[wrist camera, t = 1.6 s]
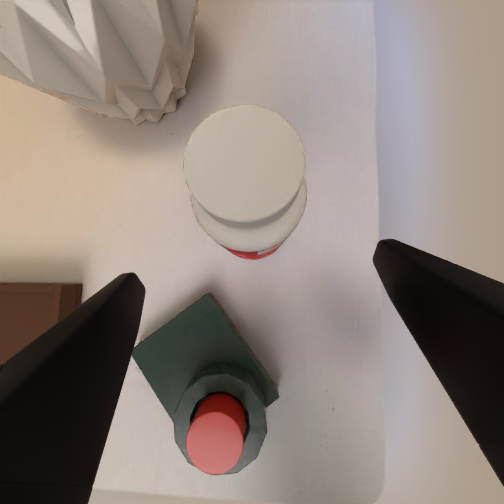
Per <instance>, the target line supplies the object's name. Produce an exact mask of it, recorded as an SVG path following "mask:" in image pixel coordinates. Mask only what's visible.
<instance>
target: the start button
mask: <svg viewBox="0 0 504 504" xmlns="http://www.w3.org/2000/svg"><path fill="white" fill-rule="evenodd" d="M245 421H246V420H245V413H244V410H243V407H242V406H241V404H240V403H239V401H238V400H237V399H236V398H234V397H233V396H231V395H229V394H226V393H216V394H212V395H210V396H208V397H207V398H206V399H204V400H203V401H202V403H201V404H200V406H199V408H198V410H197V412H196V414H195V416H194V419H193V421H192V423H191V425H190V427H189V430H188V433H187V437H186V448H187V453H188V456H189V458H190V460H191V461H192V463H193V464H194V465H195V466H196V467H197V468H198V469H199V470H201V471H202V472H205V473H207V474H213V475H217V474H222V473H225V472H227V471H229V470H230V469H232V468H233V467H234V466H235V465H236V464H237V462H238V461H239V459H240V457H241V454H242V451H243V444H244V433H245Z"/></svg>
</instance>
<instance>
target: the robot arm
mask: <svg viewBox="0 0 504 504" xmlns="http://www.w3.org/2000/svg"><path fill="white" fill-rule="evenodd" d="M373 263H374V266H375V268H376V270H377V272H378V274H379V277H380V279H381V281H382V283H383V285H384V287H385V289H386V292H387V294H388V296H389V298H390V300H391V301H392V303H393V305H394V306H395V308H396V310H397V311H398V313H399V315H400V316H401V318H402V320H403V321H404V323H405V325H406V326H407V328H408V329H409V331H410V333H411V334H412V336H413V338H414V339H415V341H416V343H417V344H418V346H419V348H420V349H421V351H422V353H423V354H424V356H425V357H426V359H427V361H428V362H429V364H430V366H431V367H432V369H433V371H434V372H435V374H436V376H437V377H438V379H439V380H440V382H441V384H442V386H443V387H444V389H445V390H446V392H447V394H448V395H449V397H450V399H451V400H452V402H453V404H454V405H455V407H456V409H457V410H458V412H459V414H460V415H461V417H462V418H463V420H464V422H465V423H466V425H467V427H468V428H469V430H470V431H471V433H472V435H473V437H474V438H475V440H476V442H477V443H478V444H479V447H480V449H481V450H482V452H483V453H484V455H485V457H486V458H487V460H488V462H489V463H490V465H491V467H492V468H493V470H494V472H495V473H496V475H497V477H498V478H499V480H500V481H501V483H502V484H503V486H504V284H503V283H501V282H499V281H496V280H494V279H491V278H489V277H486V276H484V275H481V274H479V273H476V272H474V271H471V270H469V269H466V268H464V267H462V266H459V265H457V264H454V263H452V262H449V261H447V260H444V259H442V258H439V257H437V256H434V255H432V254H429V253H427V252H424V251H422V250H419V249H417V248H414V247H412V246H409V245H407V244H405V243H402V242H400V241H397V240H394V239H385V240H380V241H379V242H378V244H377V247H376V250H375V253H374V255H373ZM144 298H145V287H144V285H143V284H142V282H141V281H140V279H139V278H138V276H137V275H136V274H135V273H132V272H131V273H124V274H121V275H119V276H118V277H117V278H115V279H114V280H113V281H111V282H110V283H109V284H107V285H106V286H105V287H104V288H102V289H101V290H100V291H98V292H97V293H96V294H94V295H93V296H92V297H90V298H89V299H88V300H86V301H85V302H84V303H82V304H81V305H80V306H78V307H77V308H76V309H74V310H73V311H72V312H70V313H69V314H68V315H66V316H65V317H64V318H62V319H61V320H60V321H58V322H57V323H56V324H55V325H53V326H52V327H51V328H49V329H48V330H47V331H45V332H44V333H43V334H41V335H40V336H39V337H37V338H36V339H35V340H33V341H32V342H31V343H29V344H28V345H27V346H25V347H24V348H23V349H21V350H20V351H19V352H17V353H16V354H15V355H13V356H12V357H11V358H10V359H8V360H7V361H6V362H5V363H3V364H1V365H0V504H88V501H89V498H90V495H91V492H92V488H93V487H92V486H93V484H94V481H95V477H96V474H97V470H98V467H99V464H100V460H101V457H102V453H103V450H104V447H105V443H106V440H107V436H108V433H109V430H110V426H111V423H112V419H113V416H114V413H115V409H116V406H117V402H118V399H119V396H120V392H121V389H122V385H123V382H124V379H125V375H126V372H127V368H128V365H129V362H130V358H131V355H132V351H133V348H134V345H135V341H136V338H137V334H138V330H139V326H140V320H141V315H142V309H143V303H144Z"/></svg>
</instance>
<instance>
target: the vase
mask: <svg viewBox="0 0 504 504" xmlns="http://www.w3.org/2000/svg"><path fill="white" fill-rule="evenodd" d="M198 6H199V0H0V74H1V75H4V76H6V77H9V78H11V79H13V80H16V81H18V82H21V83H23V84H25V85H28V86H30V87H33V88H35V89H37V90H40V91H42V92H45V93H47V94H49V95H52V96H54V97H56V98H58V99H61V100H62V101H64V102H67V103H69V104H72V105H74V106H77V107H79V108H82V109H84V110H87V111H89V112H92V113H95V114H97V115H100V116H102V117H107V116H113V117H116V118H118V119H119V118H124V119H129V120H130V121H132V122H133V123H134V124H135V125H138V124H140V123H141V122H143V121H144V120H150V121H153V122H156V123H158V122H159V120H160V118H161V117H162V115H163V114H164V113H168V112H175V111H176V105H177V100H178V99H179V98H181V97H182V96H184V95H186V89H185V83H186V79H187V76H188V73H189V69H190V66H191V63H192V62H193V56H194V36H195V23H196V16H197V14H198Z"/></svg>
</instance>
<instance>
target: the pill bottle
mask: <svg viewBox="0 0 504 504" xmlns="http://www.w3.org/2000/svg"><path fill="white" fill-rule="evenodd" d="M305 163H306V161H305V152H304V148H303V144H302V142H301V139H300V137H299V135H298V133H297V132H296V130H295V129H294V128H293V127H292V126H291V124H290V123H289V122H288V121H287V120H285V119H284V118H283V117H282V116H280V115H278V114H277V113H275V112H273V111H271V110H268V109H266V108H262V107H259V106H253V105H237V106H232V107H228V108H224V109H222V110H219V111H217V112H215V113H213V114H212V115H210V116H208V117H207V118H206V119H205V120H203V121H202V122H201V123H200V124H199V125H198V126H197V128H196V129H195V130H194V132H193V133H192V135H191V137H190V138H189V141H188V143H187V146H186V149H185V153H184V162H183V168H184V176H185V179H186V183H187V186H188V188H189V190H190V196H191V205H192V208H193V212H194V214H195V217H196V219H197V221H198V223H199V224H200V226H201V227H202V229H203V230H204V231H205V232H206V233H207V234H208V235H209V236H210V237H211V238H212V239H213V240H214V241H216V242H217V243H219V244H220V245H221V246H223V247H224V248H225V249H227V250H228V251H230V252H231V253H233V254H234V255H236V256H238V257H241V258H244V259H250V260H255V259H261V258H264V257H267V256H269V255H270V254H272V253H273V252H275V251H276V250H277V249H278V248H279V247H280V246H281V245H282V243H283V242H284V241H285V240H286V239H287V238H288V236H289V235H290V234H291V233H292V232H293V231H294V229H295V228H296V227H297V225H298V223H299V222H300V220H301V218H302V215H303V213H304V209H305V206H306V199H307V188H306V182H305V178H304V173H305Z"/></svg>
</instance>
